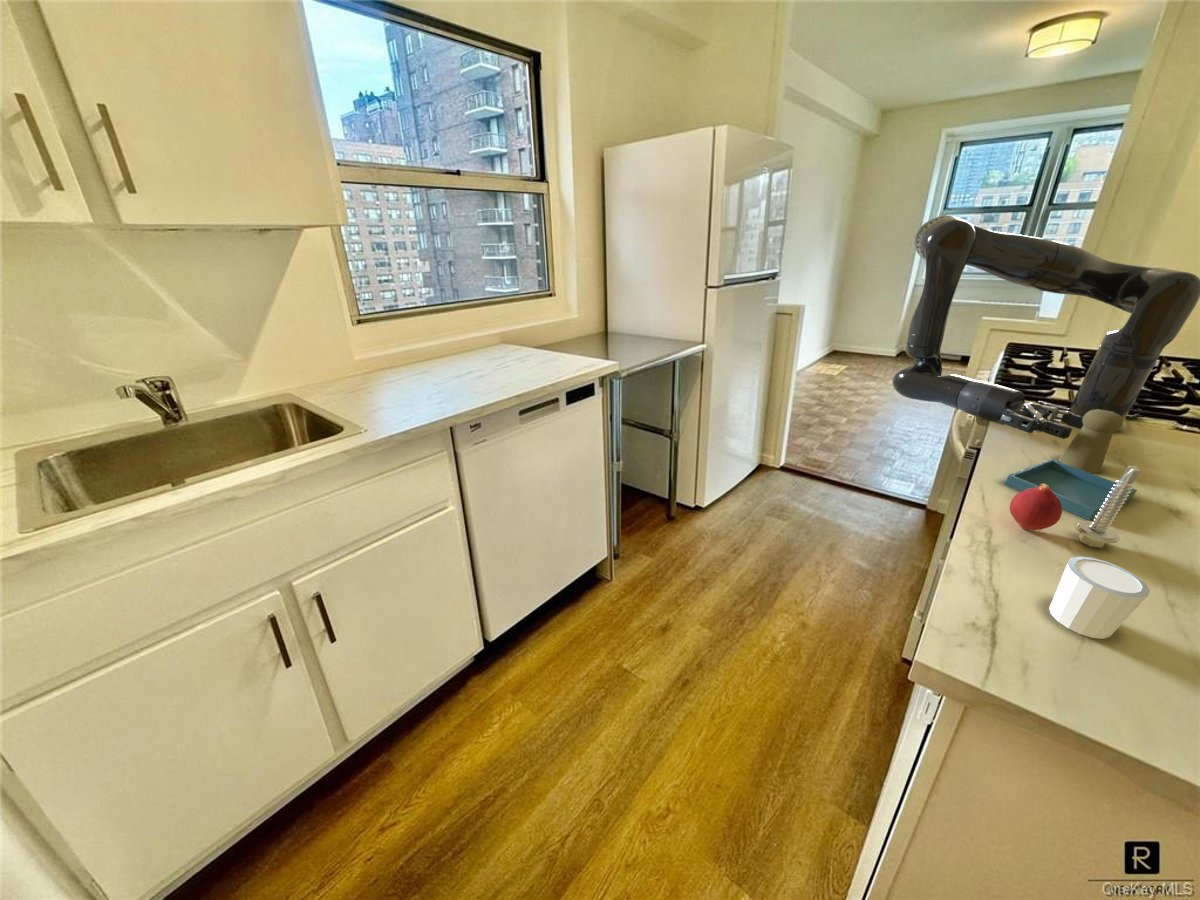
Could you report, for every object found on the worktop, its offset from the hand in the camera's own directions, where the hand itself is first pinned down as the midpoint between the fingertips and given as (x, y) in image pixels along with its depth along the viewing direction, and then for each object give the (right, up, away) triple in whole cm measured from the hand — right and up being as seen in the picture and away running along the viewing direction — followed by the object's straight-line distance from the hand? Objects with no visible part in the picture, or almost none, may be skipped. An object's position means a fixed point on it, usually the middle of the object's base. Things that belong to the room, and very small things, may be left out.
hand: (1081, 430), depth 91 cm
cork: (+1, -7, +1) cm, 7 cm away
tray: (-10, -11, -7) cm, 17 cm away
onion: (-26, -16, -17) cm, 35 cm away
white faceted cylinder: (-34, -24, -33) cm, 53 cm away
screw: (-19, -18, -20) cm, 32 cm away
